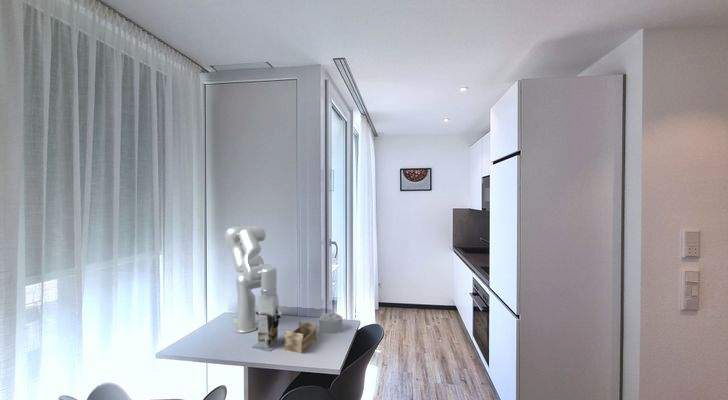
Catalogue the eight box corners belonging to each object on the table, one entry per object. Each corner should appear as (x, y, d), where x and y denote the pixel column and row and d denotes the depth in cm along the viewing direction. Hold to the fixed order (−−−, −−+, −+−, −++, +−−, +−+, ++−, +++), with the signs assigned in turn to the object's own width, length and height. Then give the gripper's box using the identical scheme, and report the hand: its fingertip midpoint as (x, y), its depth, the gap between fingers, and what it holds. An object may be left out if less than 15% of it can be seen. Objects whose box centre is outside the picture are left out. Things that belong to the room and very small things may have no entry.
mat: (252, 347, 148) (252, 346, 148) (266, 337, 158) (266, 337, 158) (270, 351, 144) (270, 350, 144) (284, 341, 155) (284, 340, 155)
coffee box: (269, 348, 146) (269, 315, 146) (257, 346, 148) (257, 314, 148) (278, 340, 155) (278, 309, 155) (267, 338, 157) (267, 308, 157)
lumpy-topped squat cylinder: (322, 325, 175) (322, 310, 175) (344, 326, 173) (344, 311, 173) (317, 333, 165) (317, 317, 165) (340, 334, 163) (340, 318, 163)
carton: (284, 349, 146) (284, 331, 146) (299, 338, 159) (299, 321, 159) (302, 353, 143) (302, 334, 143) (316, 341, 155) (316, 324, 155)
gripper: (250, 292, 151) (249, 326, 151) (278, 296, 145) (278, 331, 145) (259, 288, 158) (259, 320, 158) (287, 291, 152) (287, 325, 152)
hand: (268, 325), depth 151 cm, fingers open, 8 cm apart
